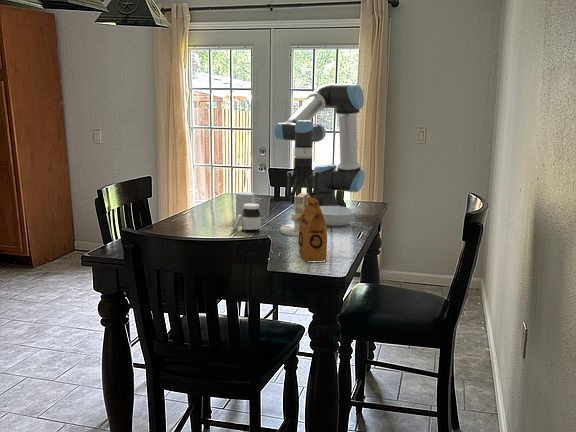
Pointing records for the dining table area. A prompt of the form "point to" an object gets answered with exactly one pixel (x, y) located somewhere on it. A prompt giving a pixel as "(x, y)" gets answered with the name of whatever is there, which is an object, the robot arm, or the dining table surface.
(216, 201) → the dining table surface
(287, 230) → the dial plate
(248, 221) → the spread jar
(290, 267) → the dining table surface
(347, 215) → the serving bowl
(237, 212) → the supplement box
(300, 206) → the lever handle
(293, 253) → the dining table surface
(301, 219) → the coffee package
